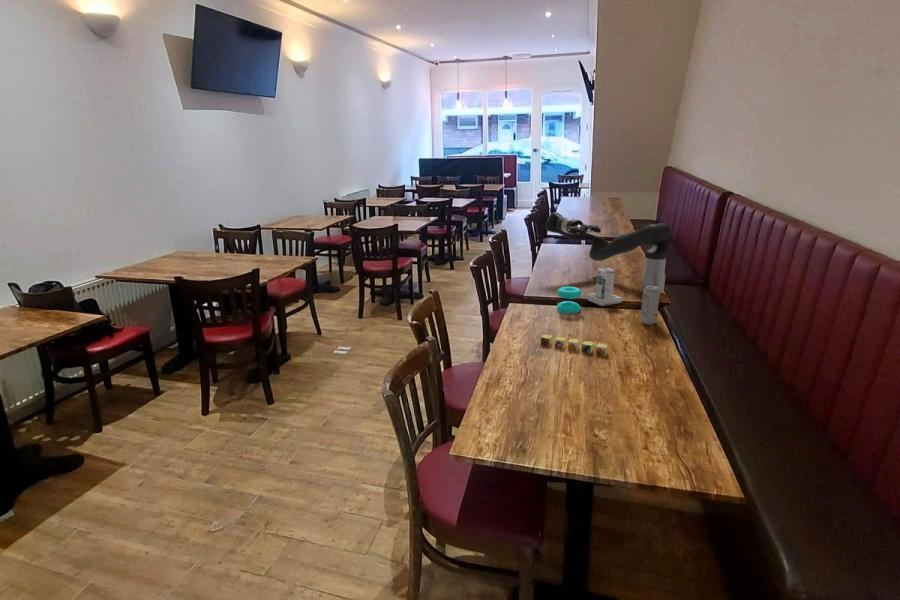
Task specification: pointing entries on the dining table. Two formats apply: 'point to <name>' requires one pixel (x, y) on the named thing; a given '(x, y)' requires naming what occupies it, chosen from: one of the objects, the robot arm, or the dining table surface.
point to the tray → (603, 302)
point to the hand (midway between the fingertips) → (592, 231)
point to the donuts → (569, 294)
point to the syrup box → (605, 283)
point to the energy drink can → (650, 305)
